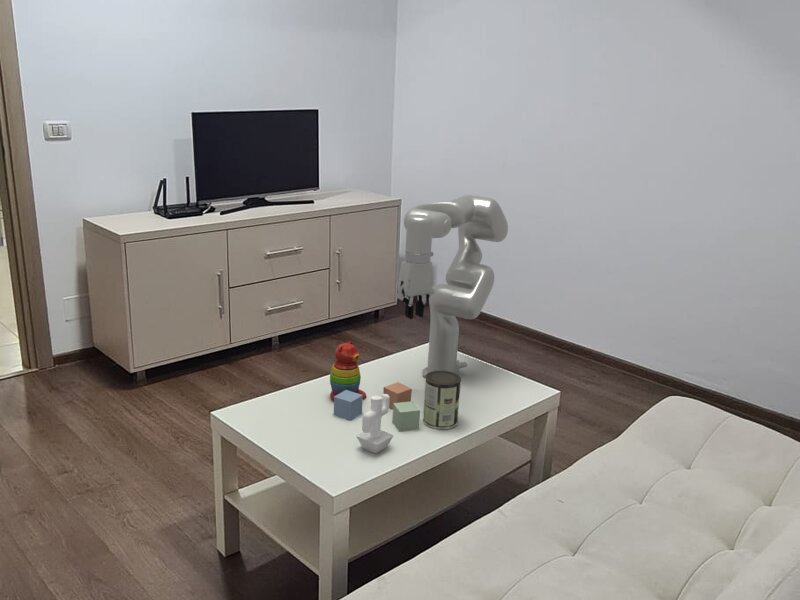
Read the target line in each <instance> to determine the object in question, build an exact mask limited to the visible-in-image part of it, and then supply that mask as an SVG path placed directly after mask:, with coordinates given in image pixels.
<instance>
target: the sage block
mask: <svg viewBox="0 0 800 600" xmlns="http://www.w3.org/2000/svg"><path fill="white" fill-rule="evenodd" d="M420 414H421V410H420V408H419V407H418V406H417V404H416V403H415V402H414V401H412V400H411V402H401V403H393V410H392V424H393V425H394V426H395V428H396V429H397V431H398V432H405V431H413V430H419V429H420V419H421V418H420V417H421V415H420Z"/></svg>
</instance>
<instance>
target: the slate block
mask: <svg viewBox="0 0 800 600" xmlns="http://www.w3.org/2000/svg"><path fill="white" fill-rule="evenodd" d="M363 401H364V400H363V395H361V394H358V393H355V392H351V391H348V390H345V391H343V392H341V393H340V394H338V395H336V396H334V402H333V416H335V417H338V418H341V419H343V420H347V421H352V420H354V419H355V418H357V417H359V416H360V415H362V414H363Z"/></svg>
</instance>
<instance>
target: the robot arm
mask: <svg viewBox="0 0 800 600" xmlns="http://www.w3.org/2000/svg"><path fill="white" fill-rule="evenodd" d="M403 225H404V229H405V231H406V233H405V249H404V251H405V252H404V260H403V261H401V266H400V269H399V274H398V279H397V281H398V282H397V294H396V296H395V298H396V299H399V300H400V301H402V303H403V304H404V306H405V307H404V308H405V309H404V315H405V317H406V318H408V319H410V320H413V319H414V313H415V315H416V316H418V317H420V318H423V317H424V313H425V311H424V310H425V305H426V303H427V301H428V303H429V311H430V323H429V324H430V325H429V336H428V337H429V341H428V353H427V355H428V356H427V367H424V368H423V369H422V376H423V377H424V378H425V376H426V374H427V373H429V372H432V371H449V372H453V373H456V374H458V375H459V376H460V377H461V372H460V371H459V370H460V369H461V368H462V369H463V368H467V367H468V362H467V361H461V362H460V361H459V360H457V357H458V349H459V348H458V345H459V334H460V325H459V322H458V319H457V318H459V319H460V318H461V319H464V320H474V319H476V318H478V316H479V315H480V314H481V312H482V310H483V308H484V306H485V304H486V302H487V300H488V299H489V295H490V293H491V292H492V289H493V287H494V283H495V272H494V269H493V268H492V267H491V266H488V265H487V264H481V262H482V259H483V253H482V249H481V248H480V246H479V244H478V243H477V240H480V241H485V242H492V243H493V242H494V243H500V242H503V241H504V240H505V239H506V237H507V236H508V233H509V225H508V221H507V217H506V216H505V214H504V211H503V209H502V207H501V206H500V204H499V202H497V200H495V199H494V198H491V197H485V196H480V195H479V196H478V195H472V194H471V195H469V194H468V195H467V194H466V195H462V196H460V197H458V198H454V199H452V200H449V201H440V202H432V203H422V204H418V205H416V206H413V207H411V208H410V209H409V210H407V211H406V213H405V215H404V218H403ZM456 228H457V235H458V248H457V249H458V250H457V251H456V254H455V256H454V258H452V259H453V260H452V262H451V264H450V266H449V267H448V269H447V271H446V274H445V282H446V284H445V283H441V284H436V285H434V271H433V269H434V268H433V262H432V261H431V257H433V256H434V252H433V251H432V245H433V244H432V243H433V239H440V238H444V237H446V236H448V234H449V233H450V231H451V229H456ZM414 297H417V301H416V303H415V308H414V306H413V302H414ZM414 309H415V312H414Z"/></svg>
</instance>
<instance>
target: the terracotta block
mask: <svg viewBox="0 0 800 600" xmlns="http://www.w3.org/2000/svg"><path fill="white" fill-rule="evenodd" d="M412 390H413V389H412V388H411V387H409V386H407V385H405V384H404V383H403V384H402V383H401V382H399V381H397V382H394V383H391V384H388V385H385V386H383V394H387V395H389V397H390V403H389V410H392V411H393V403H401V402H411V401H412ZM383 394H382V395H383Z"/></svg>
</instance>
